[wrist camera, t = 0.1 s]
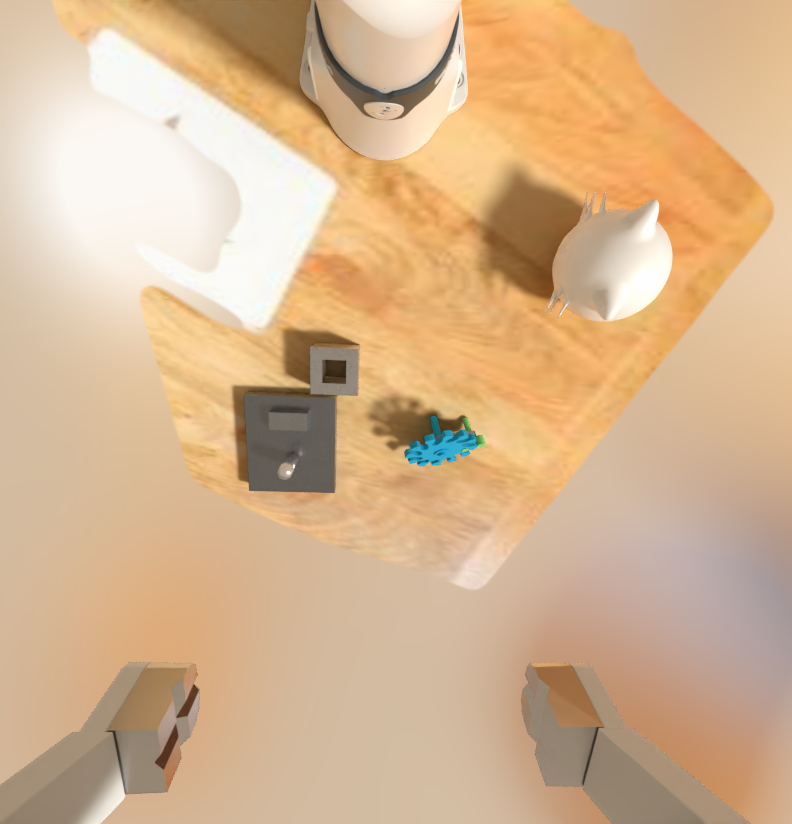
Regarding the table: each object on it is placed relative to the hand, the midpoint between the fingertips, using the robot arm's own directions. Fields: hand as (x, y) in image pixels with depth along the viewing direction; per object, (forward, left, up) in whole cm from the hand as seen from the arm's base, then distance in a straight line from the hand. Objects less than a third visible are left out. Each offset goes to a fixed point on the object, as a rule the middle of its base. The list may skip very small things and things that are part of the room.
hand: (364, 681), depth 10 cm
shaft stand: (+12, -11, -48) cm, 51 cm away
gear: (+11, +10, -48) cm, 51 cm away
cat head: (-13, +27, -48) cm, 57 cm away
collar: (+1, -5, -48) cm, 48 cm away
